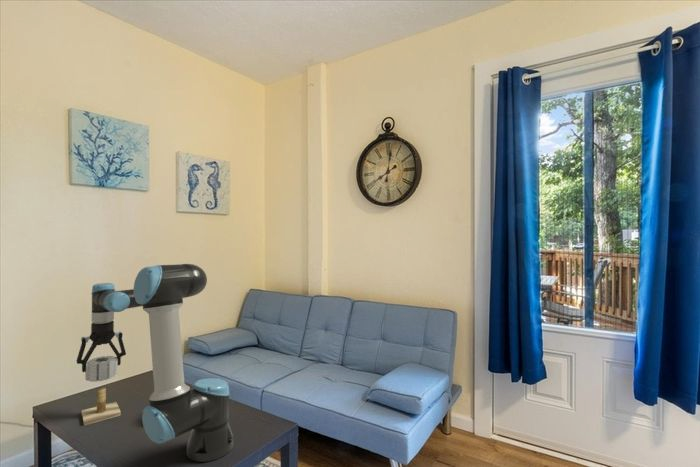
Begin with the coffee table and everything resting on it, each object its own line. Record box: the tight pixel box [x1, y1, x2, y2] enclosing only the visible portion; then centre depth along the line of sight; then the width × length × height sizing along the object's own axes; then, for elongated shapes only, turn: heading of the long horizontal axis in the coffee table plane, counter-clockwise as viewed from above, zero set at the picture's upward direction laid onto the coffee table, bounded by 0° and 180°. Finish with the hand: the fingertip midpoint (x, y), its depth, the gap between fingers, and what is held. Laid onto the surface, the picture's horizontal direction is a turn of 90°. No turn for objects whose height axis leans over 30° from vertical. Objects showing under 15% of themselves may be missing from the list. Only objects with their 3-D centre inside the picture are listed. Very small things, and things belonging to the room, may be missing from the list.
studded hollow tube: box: [87, 355, 116, 383], centre depth 143 cm, size 9×9×7 cm
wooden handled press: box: [80, 387, 122, 427], centre depth 143 cm, size 12×12×10 cm
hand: (101, 376), depth 143 cm, fingers closed on studded hollow tube, 9 cm apart
